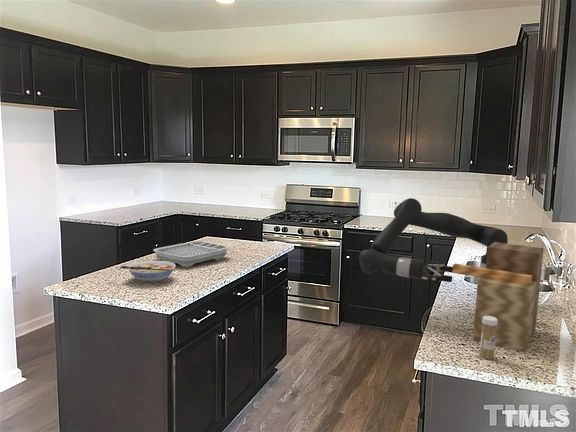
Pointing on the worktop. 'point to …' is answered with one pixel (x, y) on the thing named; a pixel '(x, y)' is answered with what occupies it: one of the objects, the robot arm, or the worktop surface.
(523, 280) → the dowel
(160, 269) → the ramen bowl
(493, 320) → the sprinkles bottle
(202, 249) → the dish rack
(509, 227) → the worktop surface
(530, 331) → the box
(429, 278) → the robot arm
